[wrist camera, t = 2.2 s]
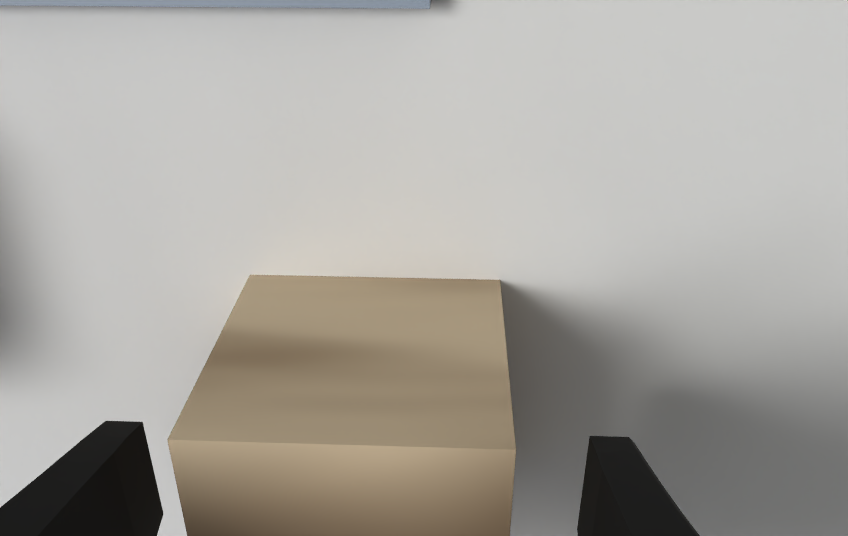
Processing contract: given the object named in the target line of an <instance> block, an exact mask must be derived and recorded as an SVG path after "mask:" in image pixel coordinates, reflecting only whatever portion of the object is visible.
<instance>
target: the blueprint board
mask: <svg viewBox="0 0 848 536" xmlns="http://www.w3.org/2000/svg"><path fill="white" fill-rule="evenodd" d="M430 4H431V0H0V5H20V6H154V7H288V8H422V9H430Z"/></svg>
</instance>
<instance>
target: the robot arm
mask: <svg viewBox="0 0 848 536" xmlns="http://www.w3.org/2000/svg"><path fill="white" fill-rule="evenodd" d="M162 516H163V510H162V506H161V501H160V497H159V493H158V488H157V484H156V479H155V475H154V471H153V466H152V462H151V457H150V453H149V449H148V444H147V440H146V435H145V431H144V427H143V422H124V421H105V422H104V423H103V424H101V425H100V426H99V427H97V428H96V429H95V430H94V431H92V432H91V433H90V434H89V435H88V436H86V437H85V438H84V439H83V440H81V441H80V442H79V443H78V444H77V445H75V446H74V447H73V448H72V449H71V450H70V451H68V452H67V453H66V454H65V455H64V456H62V457H61V458H60V459H59V460H58V461H56V462H55V463H54V464H53V465H52V466H50V467H49V468H48V469H47V470H46V471H44V472H43V473H42V474H41V475H40V476H38V477H37V478H36V479H35V480H34V481H32V482H31V483H30V484H29V485H27V486H26V487H25V488H24V489H23V490H21V491H20V492H19V493H18V494H16V495H15V496H14V497H13V498H12V499H10V500H9V501H8V502H7V503H5V504H4V505H3V506H2V507H0V536H157V533H158V530H159V526H160V523H161V520H162ZM577 530H578V536H699V534H698V533H697V532H696V530H695V529H694V528H693V527H692V525H691V524H690V523H689V521H688V520H687V519H686V517H685V516H684V515H683V513H682V512H681V511H680V509H679V508H678V507H677V505H676V504H675V502H674V501H673V500H672V498H671V497H670V495H669V494H668V492H667V491H666V490H665V488H664V487H663V485H662V484H661V483H660V481H659V480H658V478H657V477H656V475H655V474H654V472H653V471H652V469H651V468H650V466H649V465H648V463H647V462H646V460H645V459H644V457H643V456H642V454H641V452H640V451H639V449H638V448H637V446H636V445H635V443H634V442H633V441H632V440H631V439H630V438H629V437H605V436H590V438H589V446H588V453H587V461H586V468H585V476H584V483H583V490H582V498H581V505H580V513H579V520H578V528H577Z"/></svg>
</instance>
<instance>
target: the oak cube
mask: <svg viewBox="0 0 848 536" xmlns="http://www.w3.org/2000/svg"><path fill="white" fill-rule="evenodd" d="M168 445H169V450H170V454H171V459H172V464H173V469H174V474H175V479H176V483H177V488H178V493H179V498H180V503H181V507H182V512H183V517H184V522H185V527H186V531H187V536H510V524H511V510H512V497H513V483H514V470H515V456H516V444H515V434H514V423H513V412H512V402H511V391H510V381H509V370H508V359H507V349H506V338H505V327H504V317H503V306H502V295H501V285H500V280H476V279H428V278H379V277H331V276H283V275H250V276H249V278H248V280H247V282H246V284H245V286H244V288H243V290H242V292H241V294H240V296H239V298H238V300H237V302H236V304H235V306H234V308H233V310H232V312H231V314H230V316H229V318H228V320H227V322H226V324H225V326H224V328H223V330H222V332H221V334H220V336H219V338H218V340H217V342H216V344H215V346H214V348H213V350H212V352H211V354H210V356H209V358H208V360H207V362H206V364H205V366H204V368H203V370H202V372H201V374H200V376H199V378H198V380H197V382H196V384H195V386H194V388H193V390H192V392H191V394H190V396H189V398H188V400H187V402H186V404H185V406H184V408H183V410H182V412H181V414H180V416H179V418H178V420H177V422H176V424H175V426H174V428H173V430H172V432H171V434H170V436H169V438H168Z"/></svg>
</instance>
